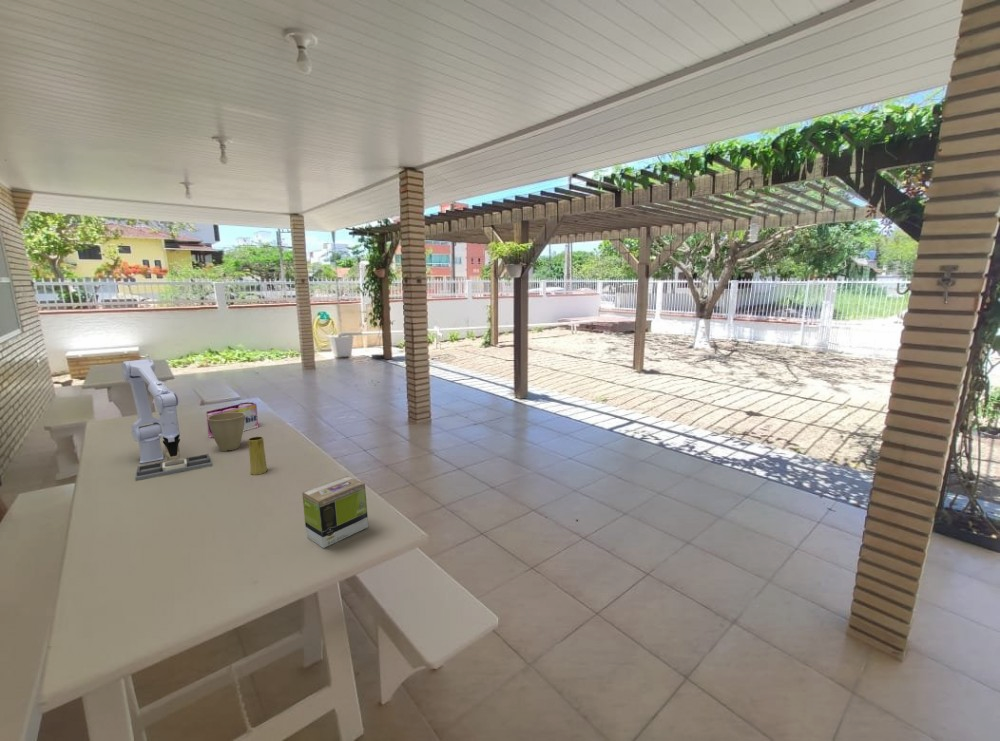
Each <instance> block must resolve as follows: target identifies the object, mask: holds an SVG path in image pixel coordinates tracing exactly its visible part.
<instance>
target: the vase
mask: <svg viewBox="0 0 1000 741" xmlns="http://www.w3.org/2000/svg"><path fill="white" fill-rule="evenodd" d="M247 441H248V449H249V450H248V451H249V463H250V472H249V473H250V475H252V474H253V476H257V474H259V475H263V474H265V473H267V472H268V467H267V461H266V452H265V445H264V444H265V443H264V436H252V437H250V438H248V439H247ZM266 471H267V472H266ZM262 473H263V474H262Z"/></svg>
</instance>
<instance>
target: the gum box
mask: <svg viewBox="0 0 1000 741" xmlns="http://www.w3.org/2000/svg"><path fill="white" fill-rule="evenodd" d="M229 412H241V413H245V422H244V429H243V430H245V429H248V428H251V427H254V426H257V425H258V426H259V418H258V406H257V403H254V402H243V403H239V404H234V405H231V406H226V407H222V408H220V407H219V408H216V409H212V410H209V411H208V410H207V411H206V414H205V415H206V422H207V423H206V424H207V434H208V437H209V436H211V437H213V435H212V432H211V429H210V426H209V423H208V419H207V418H208V417H209V416H212V415H216V414H221V413H229ZM211 437H210V438H211Z"/></svg>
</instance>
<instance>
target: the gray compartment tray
mask: <svg viewBox="0 0 1000 741" xmlns="http://www.w3.org/2000/svg"><path fill="white" fill-rule="evenodd" d="M207 466H209V467H213V461H212V458H211V456H210V454H209V453H207V454H201V455H196V456H195V455H194V456H190V457H184V458H177V459H173V460H168V461H163V462H157V463H156V462H155V463H151V464H145V465H139V466H137V468H136V471H135V472H136V473H135V481H141V480H146V479H151V478H157V477H156V476H158V477H162V476H161V475H163V476H167V474H168V475H172V473H173V474H178V473H182V471H183V472H187V471H188V470H189V471H193V470H192V469H194V470H198V469H197V468H199V469H203V468H202V467H204V468H208V467H207ZM177 472H178V473H177Z"/></svg>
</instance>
